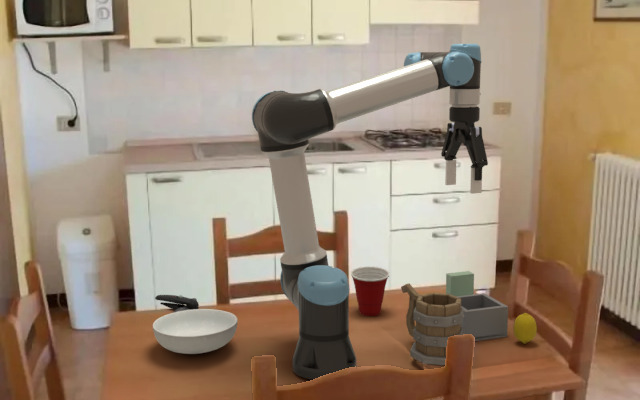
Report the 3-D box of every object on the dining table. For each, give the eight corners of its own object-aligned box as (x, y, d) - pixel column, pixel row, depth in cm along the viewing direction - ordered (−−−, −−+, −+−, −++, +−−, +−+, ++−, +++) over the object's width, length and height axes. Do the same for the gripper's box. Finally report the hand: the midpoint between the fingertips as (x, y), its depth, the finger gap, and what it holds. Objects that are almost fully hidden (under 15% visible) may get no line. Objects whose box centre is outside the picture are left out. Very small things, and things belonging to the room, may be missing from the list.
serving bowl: (250, 336, 201) (249, 310, 200) (218, 367, 181) (217, 339, 180) (177, 329, 207) (175, 305, 205) (138, 359, 187) (136, 332, 186)
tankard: (475, 358, 184) (477, 297, 182) (433, 369, 178) (434, 307, 175) (424, 333, 201) (425, 277, 199) (383, 342, 195) (384, 285, 192)
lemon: (520, 348, 190) (521, 317, 188) (509, 341, 195) (510, 310, 193) (540, 346, 191) (541, 315, 190) (528, 338, 196) (529, 308, 195)
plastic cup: (354, 320, 211) (353, 278, 209) (347, 308, 222) (347, 267, 220) (393, 318, 213) (393, 276, 210) (385, 306, 223) (385, 265, 221)
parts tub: (465, 342, 194) (465, 311, 193) (443, 326, 206) (443, 297, 204) (507, 336, 198) (508, 306, 196) (483, 321, 209) (484, 293, 208)
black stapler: (205, 316, 217) (204, 297, 216) (185, 323, 212) (184, 303, 211) (168, 303, 229) (167, 285, 228) (148, 309, 224) (146, 290, 223)
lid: (449, 321, 210) (449, 282, 208) (428, 307, 222) (428, 269, 220) (491, 316, 214) (492, 277, 212) (468, 302, 226) (469, 265, 224)
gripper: (503, 108, 186) (501, 195, 190) (454, 102, 209) (453, 180, 213) (475, 109, 183) (473, 197, 187) (429, 103, 207) (428, 182, 211)
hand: (462, 188), depth 200 cm, fingers open, 13 cm apart
